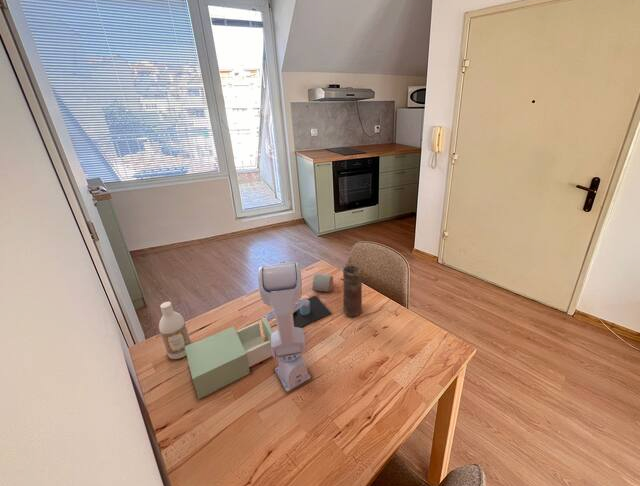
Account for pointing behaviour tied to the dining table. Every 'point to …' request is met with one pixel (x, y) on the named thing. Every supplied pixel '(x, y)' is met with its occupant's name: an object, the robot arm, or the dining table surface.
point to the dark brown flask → (352, 290)
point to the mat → (311, 313)
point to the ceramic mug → (322, 282)
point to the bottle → (305, 309)
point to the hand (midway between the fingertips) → (289, 327)
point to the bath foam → (173, 331)
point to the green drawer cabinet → (216, 361)
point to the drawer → (256, 341)
